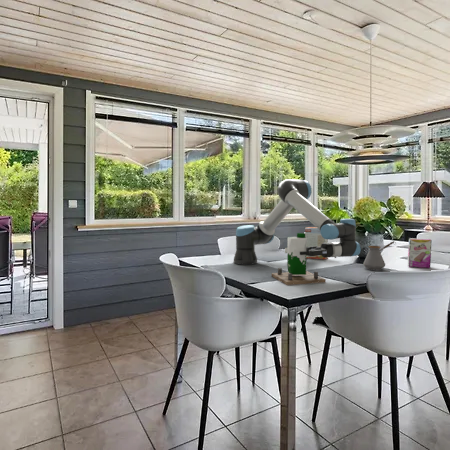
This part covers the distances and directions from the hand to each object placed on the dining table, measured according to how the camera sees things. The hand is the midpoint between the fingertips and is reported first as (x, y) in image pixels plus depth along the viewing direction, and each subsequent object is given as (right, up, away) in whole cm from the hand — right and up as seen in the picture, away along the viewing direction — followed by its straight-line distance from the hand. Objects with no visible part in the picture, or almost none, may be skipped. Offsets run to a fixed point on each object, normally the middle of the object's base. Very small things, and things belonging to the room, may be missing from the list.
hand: (288, 251), depth 176 cm
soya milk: (+4, -11, +2) cm, 12 cm away
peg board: (+5, -14, +2) cm, 15 cm away
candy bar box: (+80, -11, +29) cm, 86 cm away
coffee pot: (+57, -12, +27) cm, 64 cm away
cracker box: (+30, -9, +63) cm, 70 cm away
